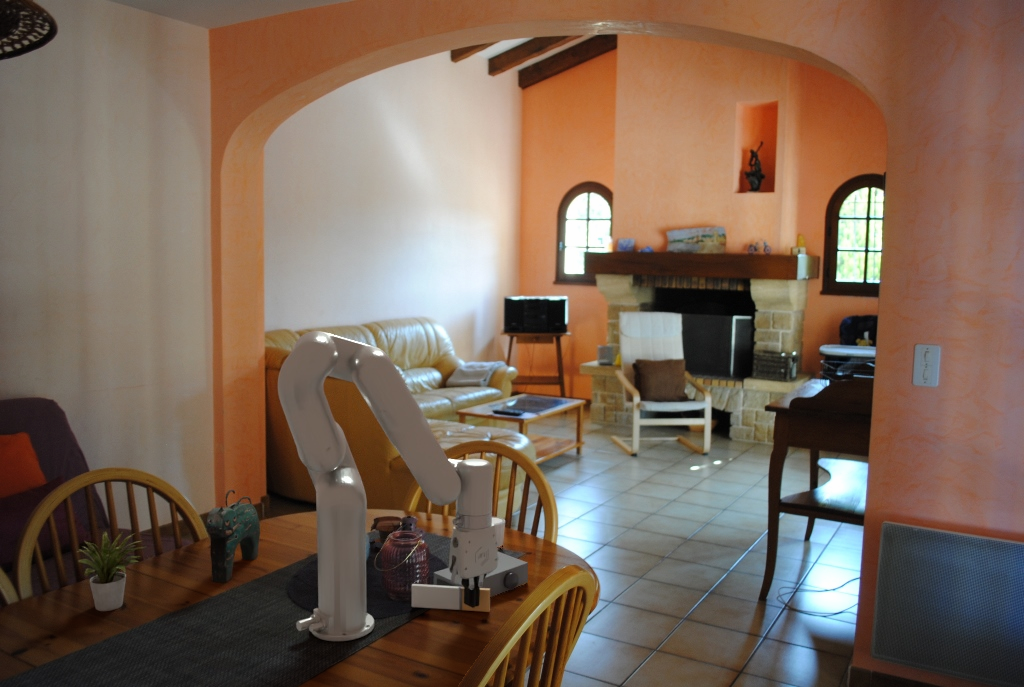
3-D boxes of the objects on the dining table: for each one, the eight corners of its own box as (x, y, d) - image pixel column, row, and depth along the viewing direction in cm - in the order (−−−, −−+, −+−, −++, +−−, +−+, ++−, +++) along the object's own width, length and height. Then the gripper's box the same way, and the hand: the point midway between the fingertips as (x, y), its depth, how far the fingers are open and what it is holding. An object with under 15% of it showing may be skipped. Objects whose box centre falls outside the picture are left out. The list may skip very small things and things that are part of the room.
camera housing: (465, 609, 182) (465, 584, 181) (432, 594, 190) (432, 570, 189) (531, 585, 196) (531, 561, 195) (498, 571, 204) (498, 549, 203)
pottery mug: (363, 549, 219) (363, 517, 223) (382, 555, 228) (382, 524, 231) (404, 543, 215) (403, 511, 219) (422, 549, 224) (421, 517, 227)
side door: (489, 611, 180) (489, 590, 180) (411, 606, 182) (411, 585, 182) (490, 609, 181) (490, 588, 181) (412, 604, 183) (412, 583, 183)
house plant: (114, 626, 172) (111, 547, 171) (54, 619, 175) (51, 542, 173) (157, 598, 186) (154, 525, 185) (101, 592, 189) (98, 521, 187)
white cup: (504, 551, 218) (504, 524, 217) (477, 550, 218) (477, 524, 217) (505, 542, 224) (505, 516, 224) (479, 541, 225) (479, 515, 224)
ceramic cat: (226, 586, 193) (224, 500, 191) (200, 584, 194) (197, 498, 192) (265, 555, 213) (263, 477, 211) (241, 554, 214) (239, 476, 212)
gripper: (457, 531, 169) (455, 620, 170) (512, 517, 179) (509, 601, 181) (433, 522, 174) (432, 608, 176) (488, 508, 184) (486, 590, 186)
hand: (471, 604), depth 178 cm, fingers closed
